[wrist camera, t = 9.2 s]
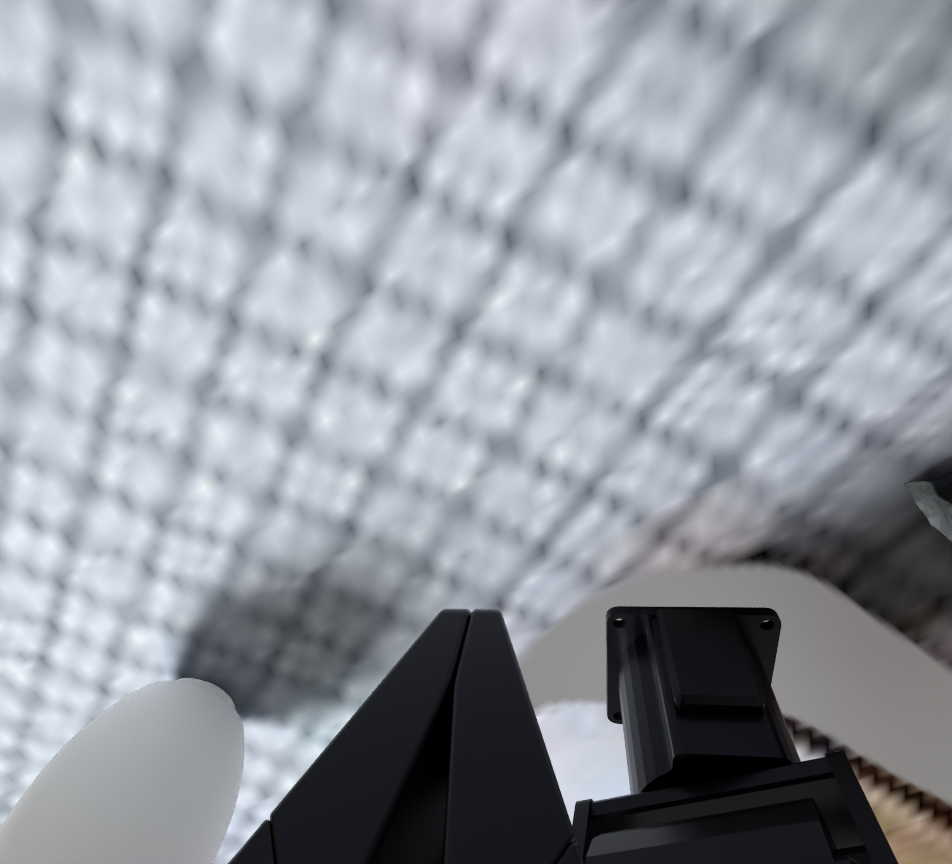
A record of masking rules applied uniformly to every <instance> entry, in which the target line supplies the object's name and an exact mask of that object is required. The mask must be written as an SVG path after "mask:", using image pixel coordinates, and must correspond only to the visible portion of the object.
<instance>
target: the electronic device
mask: <svg viewBox="0 0 952 864" xmlns="http://www.w3.org/2000/svg"><path fill="white" fill-rule="evenodd" d="M904 484H905V485H906V487H907V488H908V490H909V491H910V493H911V495H912V496H913V498H914V500H915V502H916V504H917V506H918V507H919V508H920V510H921V511H922V512H923V513H924V515H925V516H926V517H927V519H928V520H929V522H930V524H931V525H932V526H933V527H935V528H936V529H937V530H939V531H940V532H941V533H942V534H943V535H945V536H946V537H947V538H948V539H949V540H950V541H951V542H952V474H951V475H949V476H948V477H947V478H945V479H941V480H936V481H932V482H927V481H921V482H909V483H904Z"/></svg>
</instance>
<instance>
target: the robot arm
mask: <svg viewBox="0 0 952 864" xmlns="http://www.w3.org/2000/svg"><path fill="white" fill-rule="evenodd" d="M619 618H620V619H623V620H619V621H618V620H616V619H619ZM765 620H769V621H768V622H763V621H765ZM780 630H781V621H780V619H779V616H778V614H777V613H776V612H775V611H774V610H773V609H770V608H742V607H741V608H740V607H735V608H734V607H622V606H621V607H619V606H618V607H613V608H611V609H610V610H608V611H607V614H606V693H607V694H606V695H607V716H608V719H609V720H610V721H611V722H613V723H617V724H623V730H624V739H625V747H626V756H627V765H628V773H629V782H630V791H631V794H630V795H625V796H620V797H614V798H609V799H604V800H599V801H593V800H592V799H588V800H582V801H577V802H576V805H575V811H574V818H573V824H572V825H571V822H570V819H569V816H568V813H567V810H566V807H565V804H564V801H563V798H562V794H561V791H560V788H559V785H558V782H557V779H556V776H555V773H554V770H553V767H552V764H551V761H550V758H549V755H548V752H547V749H546V746H545V743H544V740H543V737H542V734H541V731H540V728H539V725H538V722H537V719H536V716H535V713H534V710H533V707H532V704H531V701H530V698H529V695H528V691H527V689H526V685H525V682H524V679H523V676H522V673H521V670H520V667H519V664H518V661H517V658H516V655H515V652H514V649H513V646H512V643H511V640H510V637H509V634H508V631H507V628H506V625H505V622H504V619H503V616H502V613H501V612H500V611H499V610H496V609H475V610H474V611H473V612H472V613H471V611H469V610H468V609H444V610H442V611H441V612H440V613H439V614H438V615H437V616H436V617H435V619H434V620H433V621H432V622H431V623H430V624H429V626H428V627H427V628H426V629H425V630H424V632H423V633H422V634H421V635H420V636H419V638H418V639H417V640H416V641H415V642H414V644H413V645H412V646H411V647H410V648H409V650H408V651H407V652H406V653H405V654H404V655H403V657H402V658H401V659H400V660H399V661H398V663H397V664H396V665H395V666H394V667H393V669H392V670H391V671H390V672H389V673H388V675H387V676H386V677H385V678H384V679H383V680H382V682H381V683H380V684H379V685H378V686H377V688H376V689H375V690H374V691H373V692H372V694H371V695H370V696H369V697H368V698H367V700H366V701H365V702H364V703H363V704H362V706H361V707H360V708H359V709H358V710H357V711H356V713H355V714H354V715H353V716H352V717H351V719H350V720H349V721H348V722H347V723H346V725H345V726H344V727H343V728H342V729H341V731H340V732H339V733H338V734H337V735H336V736H335V738H334V739H333V740H332V741H331V742H330V744H329V745H328V746H327V747H326V748H325V750H324V751H323V752H322V753H321V754H320V756H319V757H318V758H317V759H316V760H315V761H314V763H313V764H312V765H311V766H310V767H309V769H308V770H307V771H306V772H305V773H304V775H303V776H302V777H301V778H300V779H299V781H298V782H297V783H296V784H295V785H294V787H293V788H292V789H291V790H290V791H289V792H288V794H287V795H286V796H285V797H284V798H283V800H282V801H281V802H280V803H279V804H278V806H277V807H276V808H275V809H274V810H273V812H272V813H271V815H270V821H271V822H270V821H269V820H265V821H264V822H263V823H262V824H261V825H260V827H259V828H258V829H257V830H256V831H255V833H254V834H253V835H252V836H251V837H250V839H249V840H248V841H247V842H246V843H245V844H244V846H243V847H242V848H241V849H240V850H239V852H238V853H237V854H236V855H235V856H234V857H233V858H232V860H231V861H230V862H229V863H228V864H898V862H897V860H896V858H895V856H894V854H893V852H892V850H891V847H890V845H889V843H888V841H887V839H886V837H885V835H884V833H883V831H882V829H881V827H880V825H879V823H878V821H877V819H876V817H875V815H874V813H873V811H872V808H871V806H870V804H869V802H868V800H867V798H866V796H865V794H864V792H863V790H862V788H861V786H860V784H859V782H858V780H857V778H856V776H855V774H854V771H853V769H852V767H851V765H850V763H849V761H848V759H847V757H846V755H845V753H844V751H843V750H842V751H836V752H831V753H826V754H825V756H826V757H824V758H818V759H813V760H808V761H803V762H801V761H800V758H799V756H798V753H797V751H796V748H795V746H794V743H793V741H792V738H791V736H790V733H789V730H788V728H787V725H786V723H785V720H784V718H783V715H782V713H781V710H780V708H779V705H778V703H777V700H776V698H775V695H774V692H773V690H772V687H771V682H772V675H773V670H774V664H775V659H776V653H777V647H778V642H779V636H780Z"/></svg>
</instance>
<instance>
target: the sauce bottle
mask: <svg viewBox="0 0 952 864" xmlns="http://www.w3.org/2000/svg"><path fill="white" fill-rule="evenodd" d="M243 764H244V728H243V724H242V721H241V718H240V716H239V715H238V713H237V712H236V710H235V706H234V703H233V701H232V699H231V698H230V696H229V695H228V694H227V693H226V692H224V691H223V690H222V689H220V688H219V687H218V686H216V685H214V684H212V683H210V682H207V681H203V680H199V679H194V678H181V679H178V680H176V681H159V682H155V683H153V684H150V685H147V686H145V687H143V688H141V689H139V690H137V691H135V692H133V693H132V694H130V695H128V696H126V697H125V698H123V699H121V700H120V701H118V702H117V703H115V704H114V705H112V706H111V707H110V708H108V709H107V710H105V711H104V712H103V713H101V714H100V715H99V716H97V717H96V718H95V719H93V720H92V721H91V722H90V723H88V724H87V725H86V726H85V727H84V728H83V729H82V730H80V731H79V732H78V733H77V734H76V735H75V736H74V737H73V738H72V739H71V740H70V741H69V742H68V743H67V744H66V745H65V746H64V747H63V748H62V749H61V750H60V751H59V752H58V753H57V754H56V755H55V756H54V757H53V759H52V760H51V761H50V762H49V763H48V764H47V765H46V767H45V768H44V769H43V770H42V771H41V773H40V774H39V775H38V776H37V778H36V779H35V780H34V781H33V783H32V784H31V785H30V786H29V788H28V789H27V790H26V792H25V793H24V794H23V796H22V797H21V798H20V800H19V801H18V802H17V804H16V805H15V807H14V808H13V810H12V811H11V813H10V814H9V815H8V817H7V818H6V820H5V821H4V823H3V824H2V826H1V827H0V864H213V861H214V859H215V857H216V855H217V853H218V851H219V848H220V846H221V844H222V842H223V839H224V837H225V834H226V832H227V829H228V826H229V824H230V821H231V818H232V815H233V812H234V808H235V805H236V801H237V797H238V792H239V788H240V783H241V778H242V772H243Z"/></svg>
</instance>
